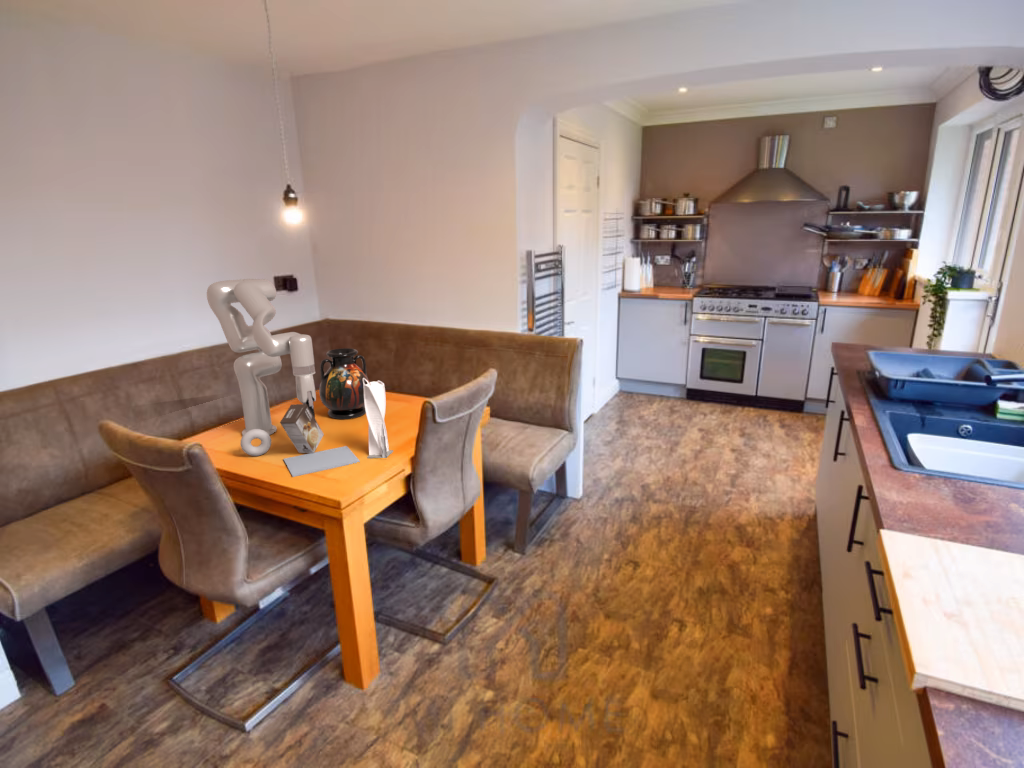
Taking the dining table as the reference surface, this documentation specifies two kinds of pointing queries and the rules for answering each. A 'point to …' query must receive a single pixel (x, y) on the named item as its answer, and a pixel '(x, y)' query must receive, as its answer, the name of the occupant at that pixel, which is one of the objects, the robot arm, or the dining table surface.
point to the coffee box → (302, 428)
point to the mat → (320, 461)
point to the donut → (254, 450)
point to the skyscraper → (376, 419)
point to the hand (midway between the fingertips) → (310, 419)
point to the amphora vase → (343, 384)
